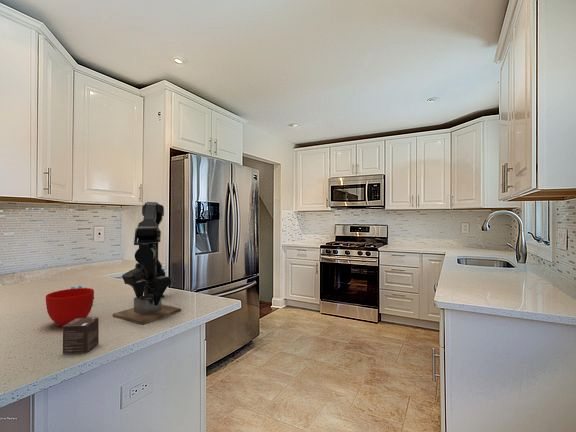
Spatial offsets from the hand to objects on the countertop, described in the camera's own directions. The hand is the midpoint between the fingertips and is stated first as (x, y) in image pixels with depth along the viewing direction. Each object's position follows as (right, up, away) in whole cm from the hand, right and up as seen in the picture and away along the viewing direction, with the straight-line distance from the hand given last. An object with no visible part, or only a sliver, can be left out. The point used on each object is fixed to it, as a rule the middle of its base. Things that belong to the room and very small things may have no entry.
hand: (147, 303), depth 110 cm
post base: (0, -4, 0) cm, 4 cm away
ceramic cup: (-21, -4, -7) cm, 23 cm away
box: (-5, -4, -28) cm, 29 cm away
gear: (-31, -4, +8) cm, 32 cm away
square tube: (0, -3, 0) cm, 3 cm away
